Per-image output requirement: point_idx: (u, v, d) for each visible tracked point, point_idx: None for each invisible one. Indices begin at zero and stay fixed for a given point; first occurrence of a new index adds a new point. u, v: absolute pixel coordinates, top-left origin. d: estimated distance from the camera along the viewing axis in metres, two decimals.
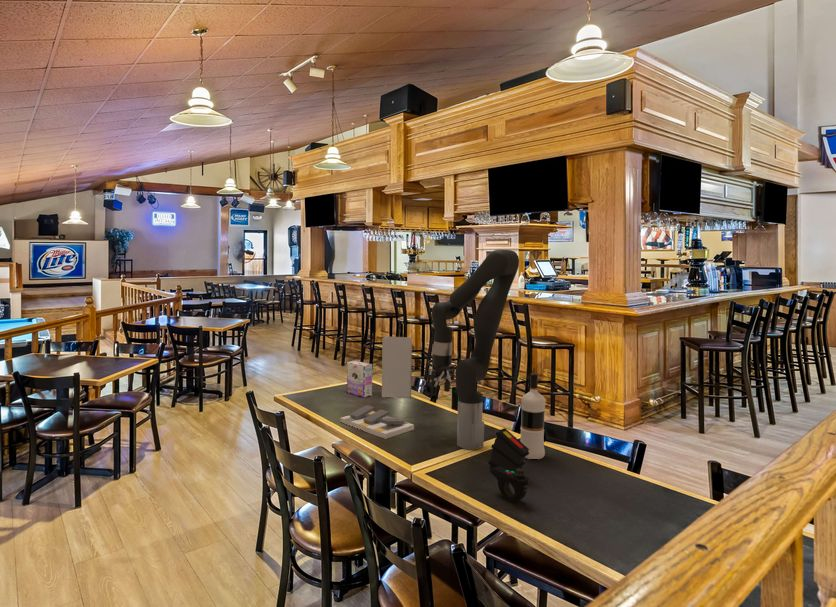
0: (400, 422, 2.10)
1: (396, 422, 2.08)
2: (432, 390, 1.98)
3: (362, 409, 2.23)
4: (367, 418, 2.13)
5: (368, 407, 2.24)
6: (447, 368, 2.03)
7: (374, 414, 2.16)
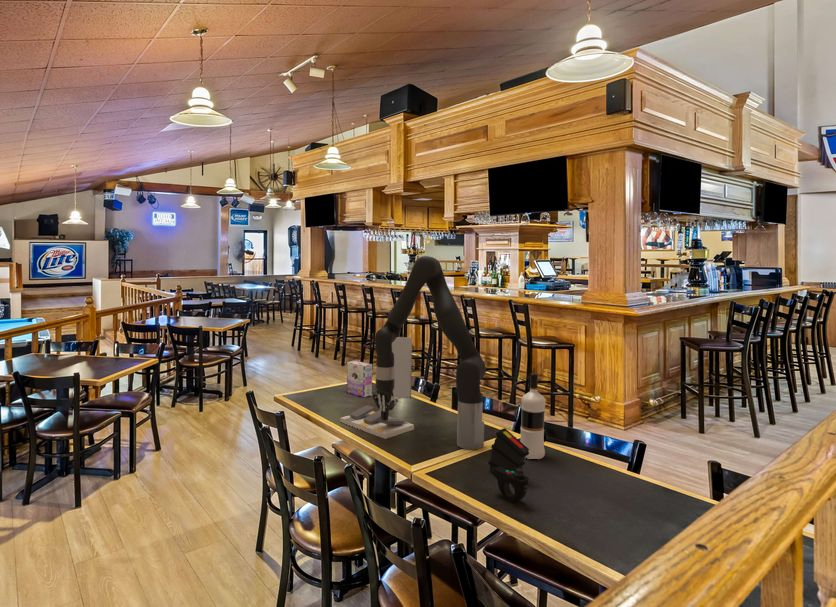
0: (400, 422, 2.10)
1: (396, 422, 2.08)
2: (387, 415, 2.06)
3: (362, 409, 2.23)
4: (367, 418, 2.13)
5: (368, 407, 2.24)
6: None
7: (374, 414, 2.16)
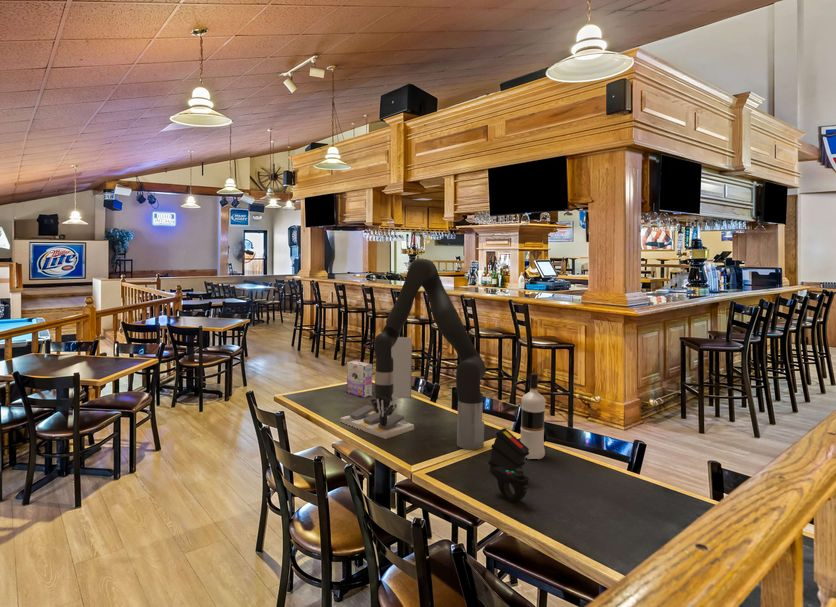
0: (399, 419, 2.09)
1: (395, 422, 2.08)
2: (386, 420, 2.05)
3: (362, 409, 2.23)
4: (367, 418, 2.13)
5: (368, 407, 2.24)
6: None
7: (374, 414, 2.16)
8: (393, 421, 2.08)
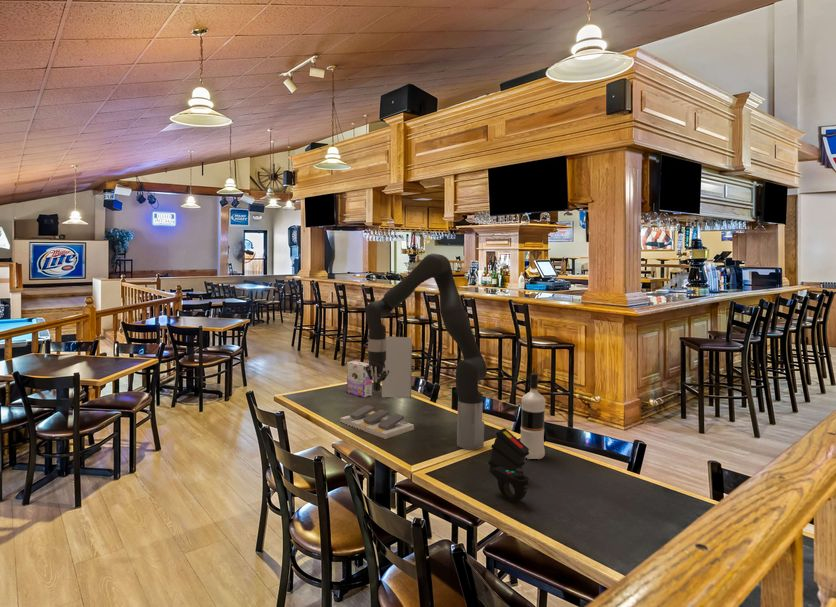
0: (399, 419, 2.09)
1: (395, 422, 2.08)
2: (379, 386, 2.14)
3: (362, 409, 2.23)
4: (367, 418, 2.13)
5: (368, 407, 2.24)
6: None
7: (374, 414, 2.16)
8: (393, 421, 2.08)
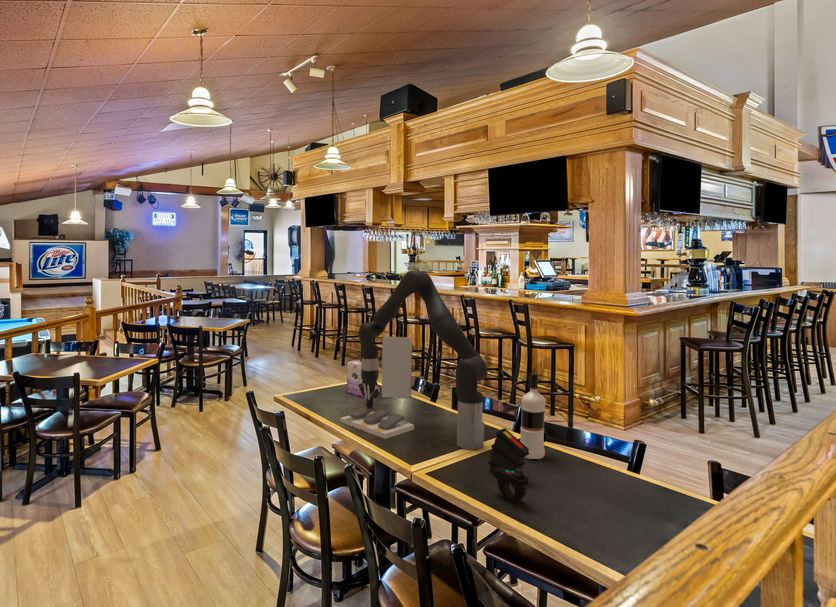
0: (399, 419, 2.09)
1: (395, 422, 2.08)
2: (372, 402, 2.24)
3: (362, 409, 2.23)
4: (367, 418, 2.13)
5: None
6: None
7: (374, 414, 2.16)
8: (393, 421, 2.08)
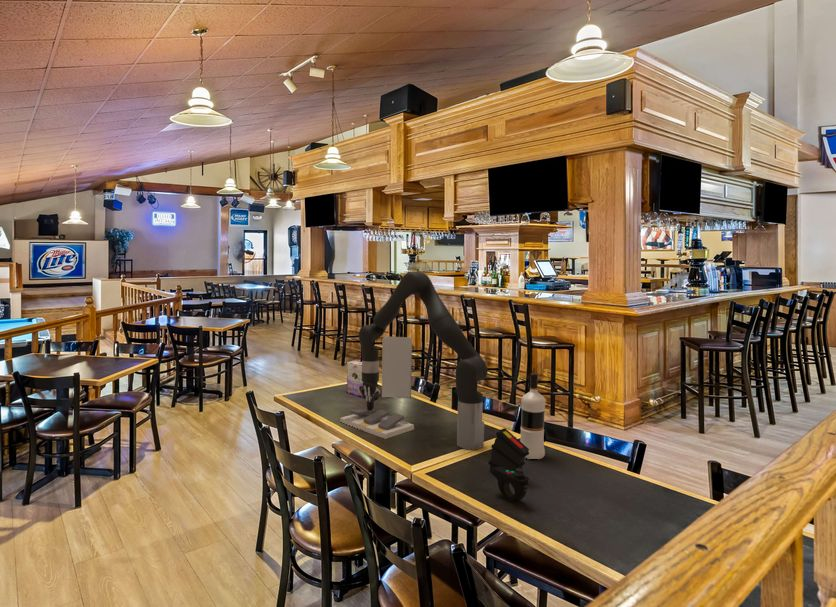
0: (399, 419, 2.09)
1: (395, 422, 2.08)
2: (372, 405, 2.24)
3: (363, 409, 2.23)
4: (367, 418, 2.13)
5: None
6: None
7: (374, 414, 2.16)
8: (393, 421, 2.08)
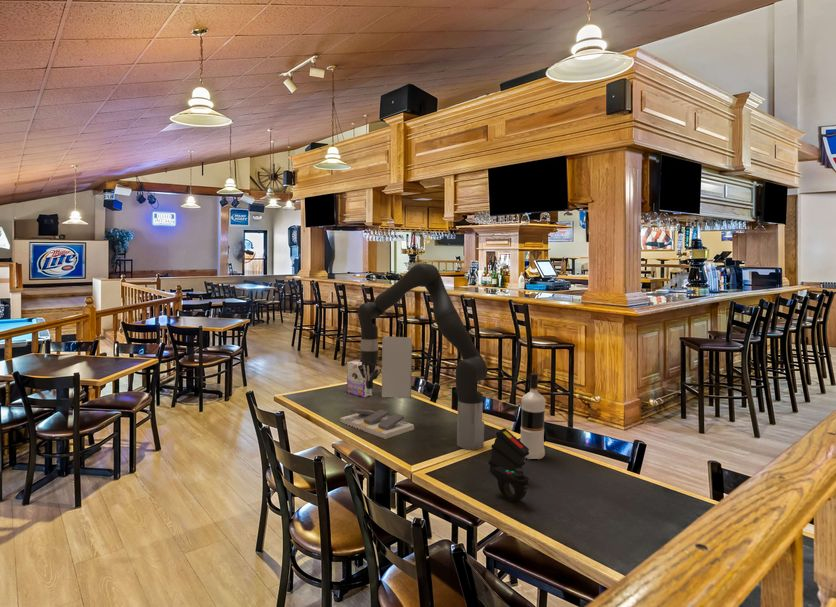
0: (399, 419, 2.09)
1: (395, 422, 2.08)
2: (372, 384, 2.23)
3: (363, 410, 2.23)
4: (367, 418, 2.13)
5: (369, 411, 2.24)
6: None
7: (374, 414, 2.16)
8: (393, 421, 2.08)
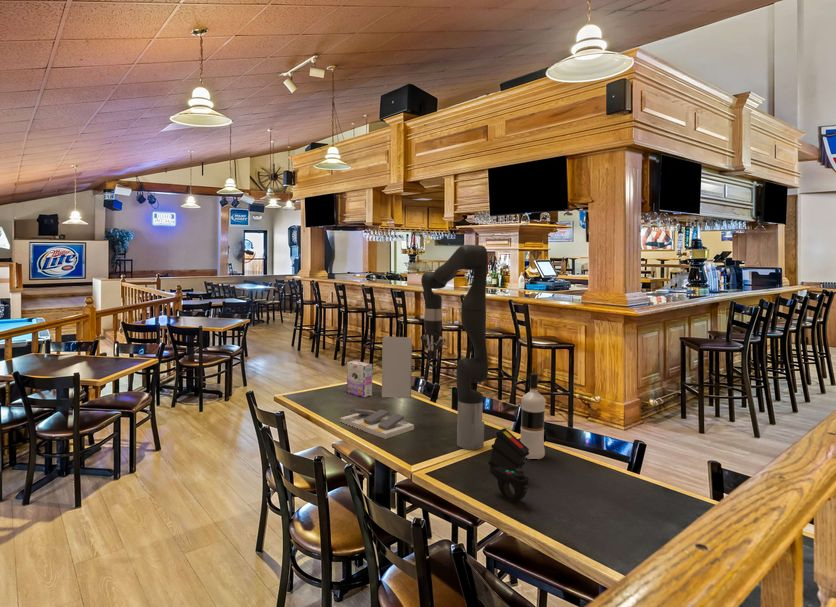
0: (399, 419, 2.09)
1: (395, 422, 2.08)
2: (435, 354, 2.21)
3: (363, 410, 2.23)
4: (367, 418, 2.13)
5: (369, 411, 2.24)
6: None
7: (374, 414, 2.16)
8: (393, 421, 2.08)
